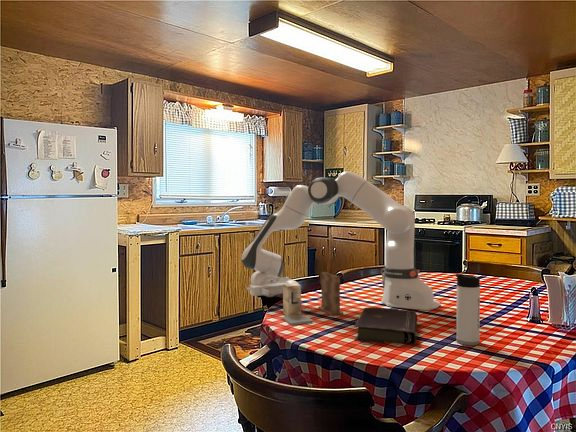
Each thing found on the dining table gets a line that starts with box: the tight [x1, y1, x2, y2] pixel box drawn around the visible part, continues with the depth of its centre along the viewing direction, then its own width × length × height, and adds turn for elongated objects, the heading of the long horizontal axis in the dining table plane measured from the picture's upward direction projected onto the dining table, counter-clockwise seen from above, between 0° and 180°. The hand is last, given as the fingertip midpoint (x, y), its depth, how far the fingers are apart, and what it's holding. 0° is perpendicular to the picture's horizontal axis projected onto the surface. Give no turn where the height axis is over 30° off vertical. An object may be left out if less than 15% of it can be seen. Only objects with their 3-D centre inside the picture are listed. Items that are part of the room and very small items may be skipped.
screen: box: [317, 271, 344, 317], centre depth 171 cm, size 12×4×14 cm, turn 21°
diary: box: [353, 307, 418, 346], centre depth 146 cm, size 19×25×5 cm
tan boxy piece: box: [282, 283, 302, 317], centre depth 167 cm, size 5×5×11 cm
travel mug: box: [455, 273, 481, 346], centre depth 133 cm, size 6×7×20 cm
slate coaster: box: [282, 314, 314, 326], centre depth 158 cm, size 8×8×1 cm
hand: (280, 291), depth 178 cm, fingers open, 8 cm apart
